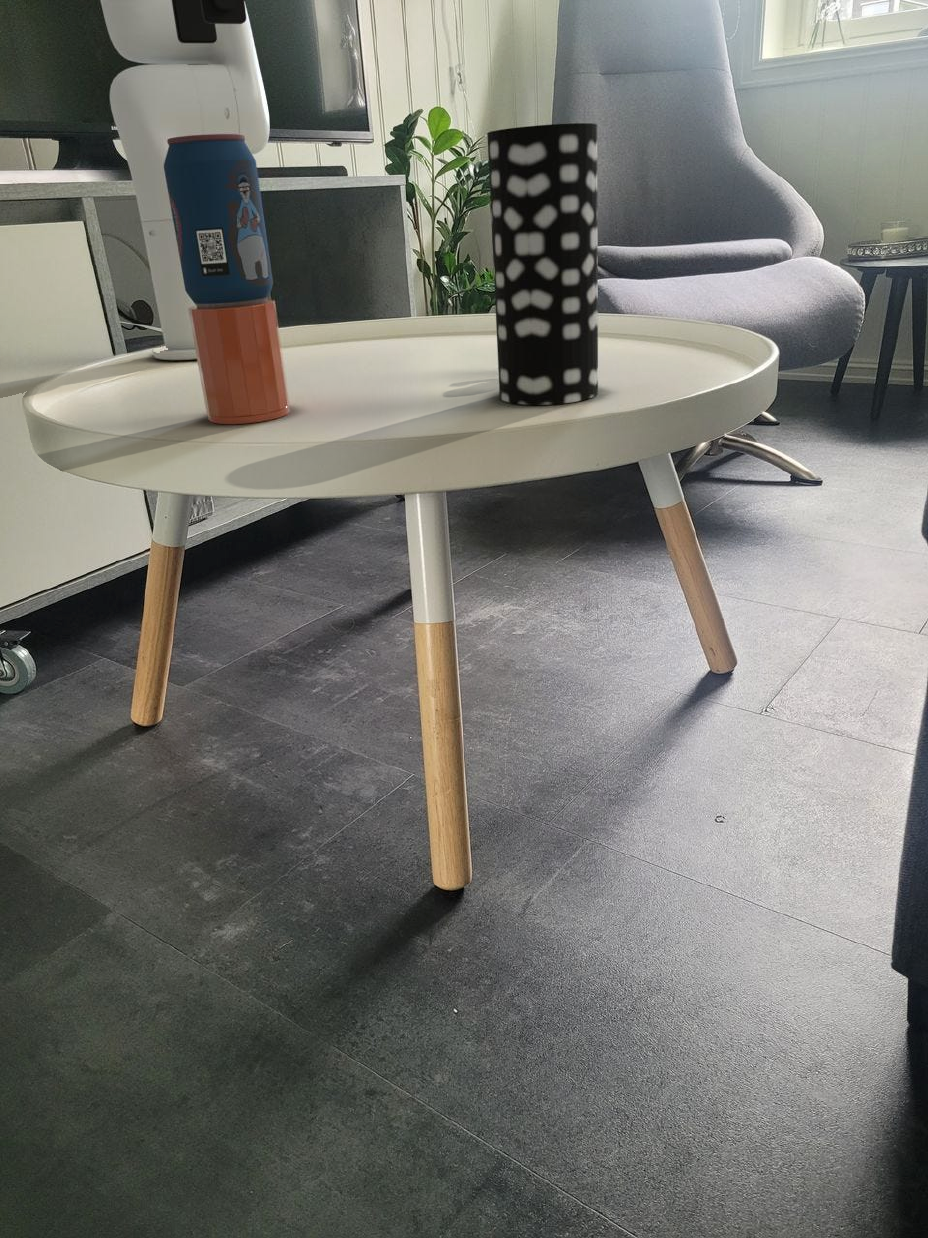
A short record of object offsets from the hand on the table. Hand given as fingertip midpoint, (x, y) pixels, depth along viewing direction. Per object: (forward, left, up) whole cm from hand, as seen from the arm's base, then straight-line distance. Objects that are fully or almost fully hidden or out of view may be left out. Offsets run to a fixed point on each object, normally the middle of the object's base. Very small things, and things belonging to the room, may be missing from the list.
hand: (211, 33), depth 73 cm
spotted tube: (+18, +20, -29) cm, 40 cm away
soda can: (+7, -3, -20) cm, 22 cm away
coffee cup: (+7, -3, -29) cm, 30 cm away
